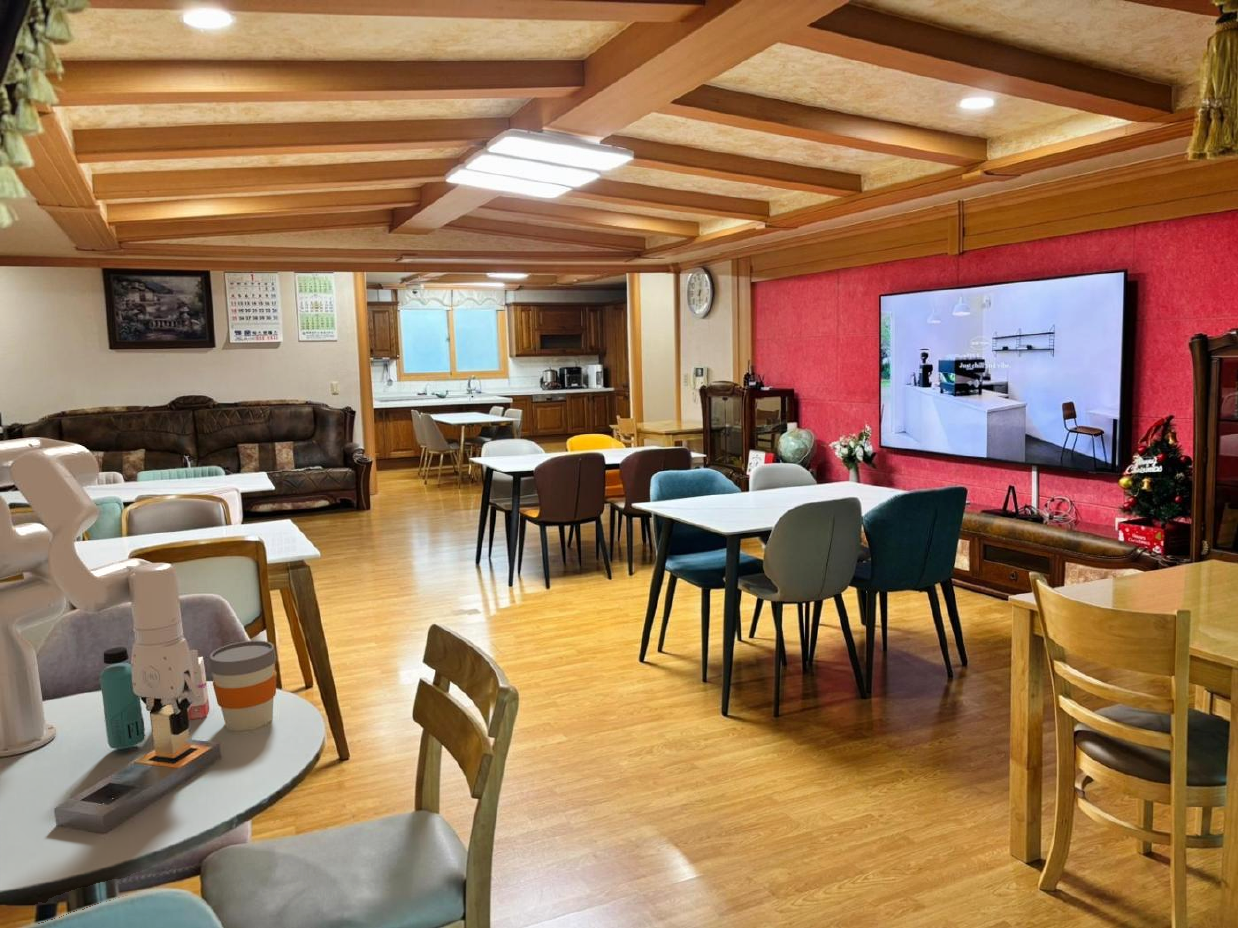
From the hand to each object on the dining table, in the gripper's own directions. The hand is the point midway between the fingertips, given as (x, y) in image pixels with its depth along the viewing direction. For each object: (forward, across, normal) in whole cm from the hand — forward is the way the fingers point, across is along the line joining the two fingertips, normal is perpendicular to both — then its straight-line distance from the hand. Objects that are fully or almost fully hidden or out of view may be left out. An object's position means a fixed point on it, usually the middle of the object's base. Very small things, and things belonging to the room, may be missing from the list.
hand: (170, 729), depth 161 cm
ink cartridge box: (+8, -16, +20) cm, 27 cm away
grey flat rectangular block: (+8, 0, -7) cm, 11 cm away
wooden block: (+4, 0, 0) cm, 4 cm away
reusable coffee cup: (+8, -1, +21) cm, 23 cm away
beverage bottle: (+8, -16, +5) cm, 19 cm away
